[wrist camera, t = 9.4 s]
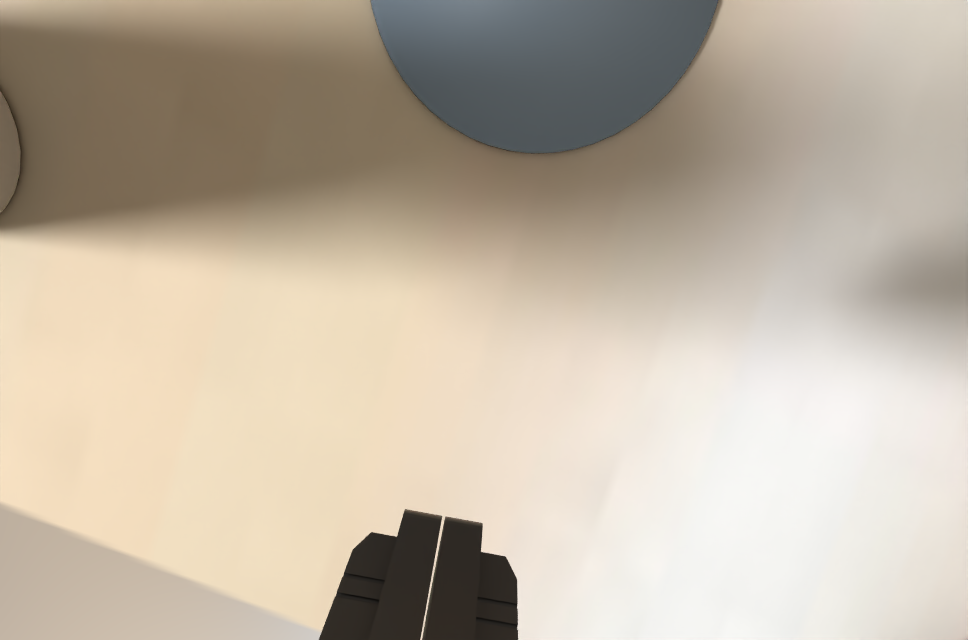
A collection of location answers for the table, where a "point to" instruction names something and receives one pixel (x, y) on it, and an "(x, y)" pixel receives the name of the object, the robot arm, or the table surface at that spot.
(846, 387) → the table surface
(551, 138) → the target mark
